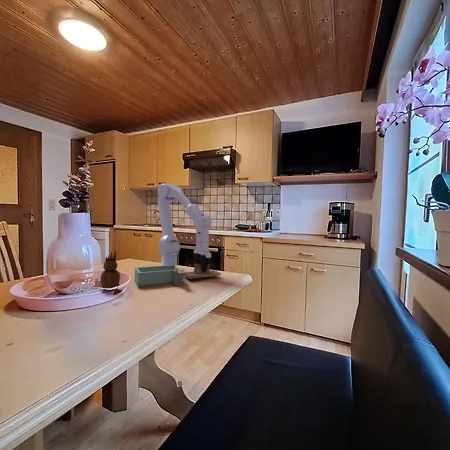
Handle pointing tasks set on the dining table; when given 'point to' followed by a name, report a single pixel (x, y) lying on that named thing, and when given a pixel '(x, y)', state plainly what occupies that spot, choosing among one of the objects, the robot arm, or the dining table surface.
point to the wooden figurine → (110, 273)
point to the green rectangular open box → (157, 276)
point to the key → (179, 269)
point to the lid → (198, 273)
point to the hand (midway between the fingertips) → (201, 270)
